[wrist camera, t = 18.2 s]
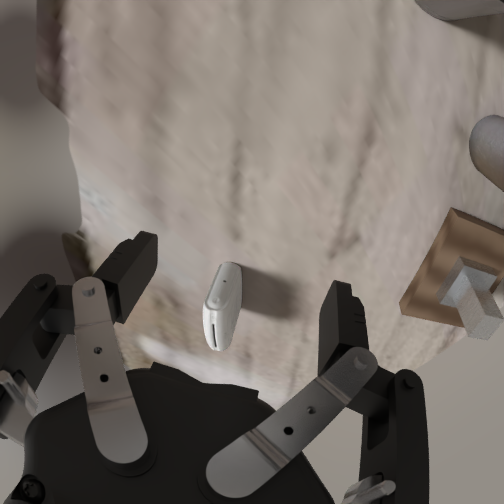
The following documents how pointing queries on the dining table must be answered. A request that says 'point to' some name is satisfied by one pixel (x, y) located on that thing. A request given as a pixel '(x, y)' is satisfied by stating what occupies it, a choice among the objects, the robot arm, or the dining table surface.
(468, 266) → the block
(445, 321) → the walnut plinth
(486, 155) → the pillar candle
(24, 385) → the robot arm
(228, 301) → the photo printer
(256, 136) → the dining table surface
